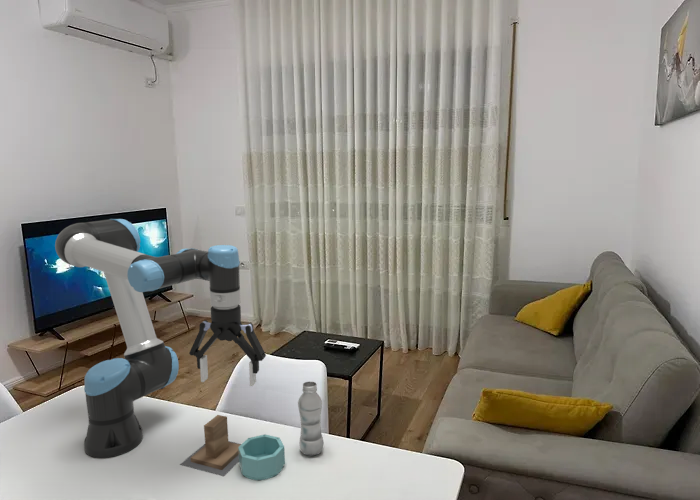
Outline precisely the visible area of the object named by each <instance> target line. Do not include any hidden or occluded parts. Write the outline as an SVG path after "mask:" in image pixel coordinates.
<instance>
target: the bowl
mask: <svg viewBox="0 0 700 500" xmlns="http://www.w3.org/2000/svg"><path fill="white" fill-rule="evenodd" d="M240 444H241V445H240V446H239V447H238V450H239V462H238V463H239V464H238V465H239V468H240V473H241V475H242V476H244V477H245V478H247V479H249V480H252V481H262V480H263V481H264V480H269V479H271V478H274V477H276V476H277V475H279V474H280V472H281V471H283V469H284V466H285V465H286V460H285V445H284V443H283V441H282V439H281V438H280V437H278V436H274V435H270V434H266V433H265V434H261V435H256V436H252V437H248V438H247V439H245V441H243V442H242V443H240Z"/></svg>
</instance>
